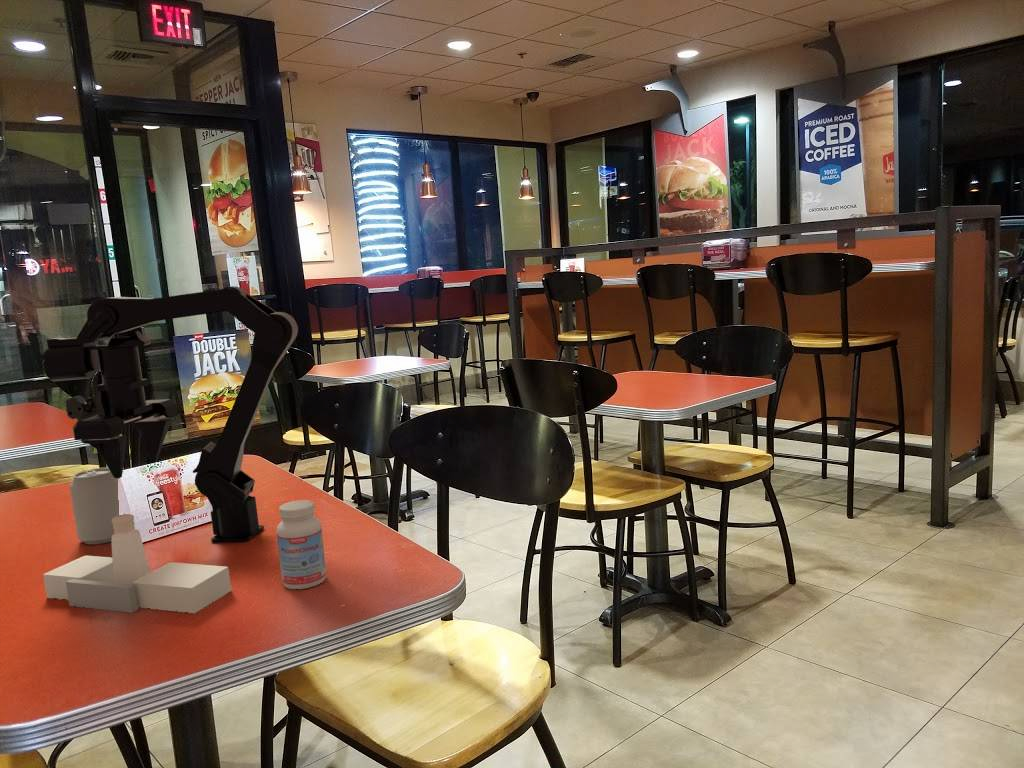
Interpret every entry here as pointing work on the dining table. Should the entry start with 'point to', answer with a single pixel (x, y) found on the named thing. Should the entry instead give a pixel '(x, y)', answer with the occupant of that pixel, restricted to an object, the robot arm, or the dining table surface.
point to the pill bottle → (300, 545)
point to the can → (95, 504)
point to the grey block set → (137, 586)
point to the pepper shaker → (127, 551)
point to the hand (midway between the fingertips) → (136, 469)
